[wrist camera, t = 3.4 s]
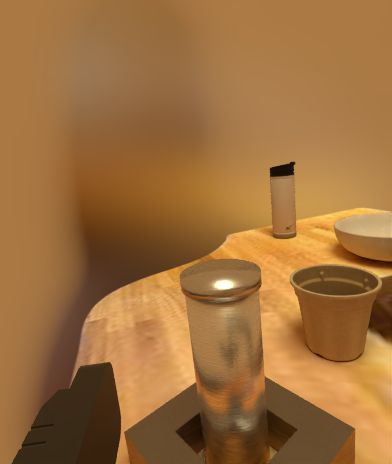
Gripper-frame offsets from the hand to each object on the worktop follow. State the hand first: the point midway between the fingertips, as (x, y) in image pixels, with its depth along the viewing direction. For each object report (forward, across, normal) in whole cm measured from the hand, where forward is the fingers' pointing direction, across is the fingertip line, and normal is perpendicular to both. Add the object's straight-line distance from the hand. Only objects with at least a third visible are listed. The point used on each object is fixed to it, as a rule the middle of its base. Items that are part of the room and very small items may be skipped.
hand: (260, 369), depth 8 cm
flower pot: (+24, +15, -17) cm, 33 cm away
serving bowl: (+50, +41, -17) cm, 67 cm away
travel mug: (+73, +28, -16) cm, 80 cm away
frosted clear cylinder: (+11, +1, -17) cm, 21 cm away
